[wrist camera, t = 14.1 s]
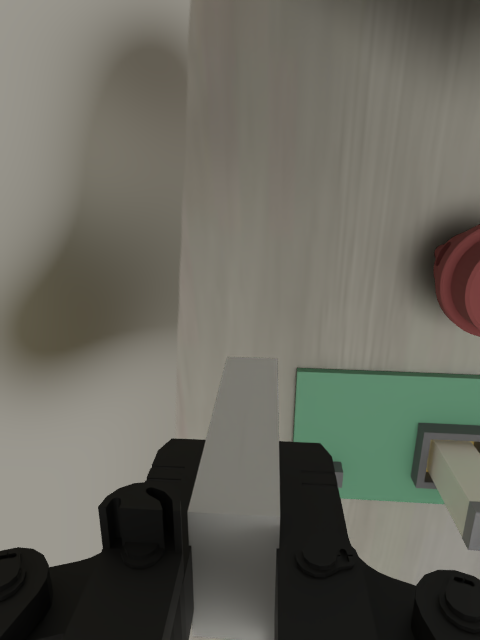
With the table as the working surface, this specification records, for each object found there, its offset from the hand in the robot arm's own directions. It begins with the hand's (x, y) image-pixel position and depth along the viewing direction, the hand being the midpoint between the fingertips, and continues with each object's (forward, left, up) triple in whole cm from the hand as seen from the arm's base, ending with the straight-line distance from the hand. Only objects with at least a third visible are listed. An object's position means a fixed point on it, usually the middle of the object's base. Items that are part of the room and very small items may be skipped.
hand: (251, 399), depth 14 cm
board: (+22, +16, -34) cm, 44 cm away
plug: (+23, +21, -33) cm, 45 cm away
